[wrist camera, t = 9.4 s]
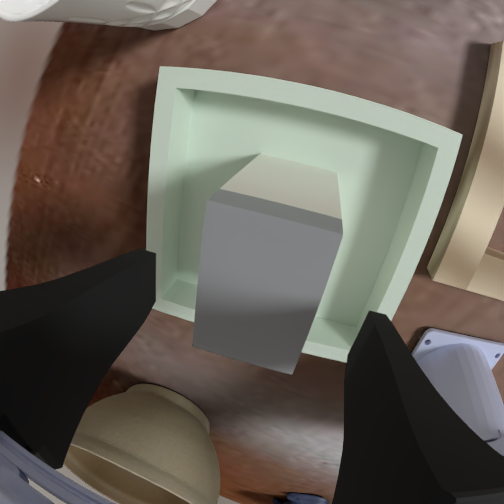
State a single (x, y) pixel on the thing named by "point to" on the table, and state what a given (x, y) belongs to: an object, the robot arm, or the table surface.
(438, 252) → the frame
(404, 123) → the tray
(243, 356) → the block
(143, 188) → the table surface
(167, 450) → the planter bowl
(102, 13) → the white cup
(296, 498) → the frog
